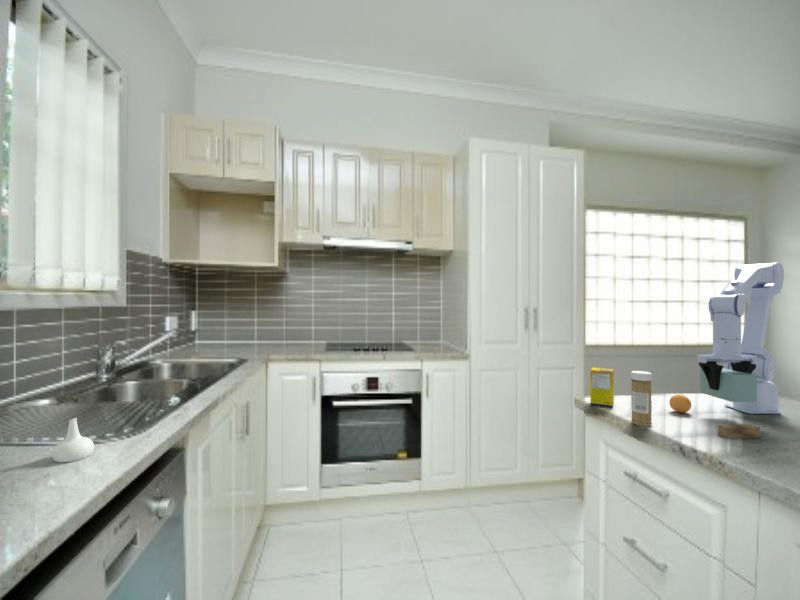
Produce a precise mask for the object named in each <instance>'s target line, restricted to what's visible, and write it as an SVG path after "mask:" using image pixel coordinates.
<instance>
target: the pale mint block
mask: <svg viewBox="0 0 800 600" xmlns="http://www.w3.org/2000/svg"><path fill="white" fill-rule="evenodd" d="M699 393H701V394H704V395H708V396H711V397H715V398H717V399H721V400H723V401H727V402H730V403H733V402H757V375H754V374H749V373H744V372H740V371H735V370H730V369H725V367H723V369H722V371H721V375H720V384H719V390H713V389H710V387H709V384H708V381H707V378H706V376H705V374H704V372H703V370H702V368H701V367H700V368H699Z"/></svg>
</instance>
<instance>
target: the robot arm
mask: <svg viewBox="0 0 800 600" xmlns="http://www.w3.org/2000/svg"><path fill="white" fill-rule="evenodd" d="M784 273H785V272H784V266H783V264H782V263H780V262H779V261H775V262H764V263H763V262H762V263H751V264H750V263H749V264H738V265H737V266H736V267H735V269H734V279H735V280H732V281H730V282H729V283H727V285H725V287H724V288H723V289H722V291H721V292H720V293H719V294H714V295H713V296H711V297H710V298H709V300H708V311H709V315H710V321H711V322H712V353H710V354H708V353H706V354H697V356H696V357H697V362H698V366H699V367H700V368H702V370H703V372H704V374H705V376H706V378H707V381H708V384H709V387H710V389H713V390H719V384H720V375H721V371H722V369H723V368H725V369H730V370H735V371H740V372H744V373H749V374H754V375H757V402H732V404H731V403H730V404H729V403H727V404H726V403H725V404H724V406H725V407H727V408H731V409H733V410H737V411H739V412H743V413H746V414H754V415H755V414H759V415H760V414H782V412H781V411H779V390H778V387H777V385H776V384H775V382H773V381H772V380H773V379H774V378H775V374H776V358H775V356H774V354H773V353H772V352H771V351H769V350H767V349H766V348H764V345H765V341H766V334H767V328H768V322H769V316H770V311H771V310H770V309H771V304H772V300H773V298H774V296H775V295H777V294H780V293H781V291H782V289H783V283H784V278H785V274H784ZM747 301H748V306H747ZM746 307H747V311H746ZM745 311H746V317H745V321H744V322H745V323H744V329H743V335H742V316H744V314H745ZM718 363H721V364H723V363H724V366H723V365H721V364H718Z"/></svg>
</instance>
